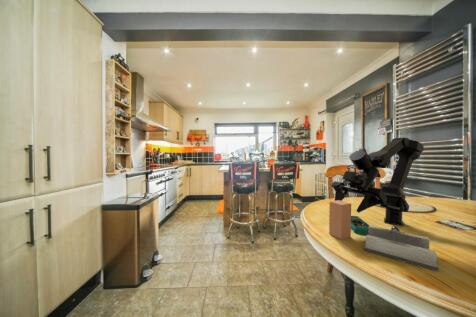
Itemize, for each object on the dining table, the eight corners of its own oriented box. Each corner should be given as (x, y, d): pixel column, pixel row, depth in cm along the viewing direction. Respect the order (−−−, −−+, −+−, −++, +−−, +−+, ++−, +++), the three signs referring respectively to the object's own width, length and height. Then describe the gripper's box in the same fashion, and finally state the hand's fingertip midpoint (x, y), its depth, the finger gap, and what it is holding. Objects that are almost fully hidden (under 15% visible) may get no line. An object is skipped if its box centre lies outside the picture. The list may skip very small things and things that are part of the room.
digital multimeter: (355, 234, 69) (355, 227, 69) (340, 220, 83) (340, 214, 83) (376, 236, 67) (377, 228, 67) (358, 221, 82) (358, 215, 82)
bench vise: (368, 230, 72) (368, 219, 72) (425, 242, 62) (426, 229, 62) (363, 250, 57) (364, 236, 57) (439, 271, 47) (439, 254, 46)
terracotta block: (338, 231, 70) (338, 200, 70) (350, 237, 66) (351, 203, 66) (329, 233, 69) (329, 201, 68) (341, 239, 64) (341, 204, 64)
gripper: (334, 162, 78) (315, 189, 74) (383, 165, 61) (360, 200, 57) (346, 180, 82) (328, 206, 78) (396, 187, 64) (375, 221, 60)
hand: (345, 208), depth 68 cm, fingers open, 9 cm apart
